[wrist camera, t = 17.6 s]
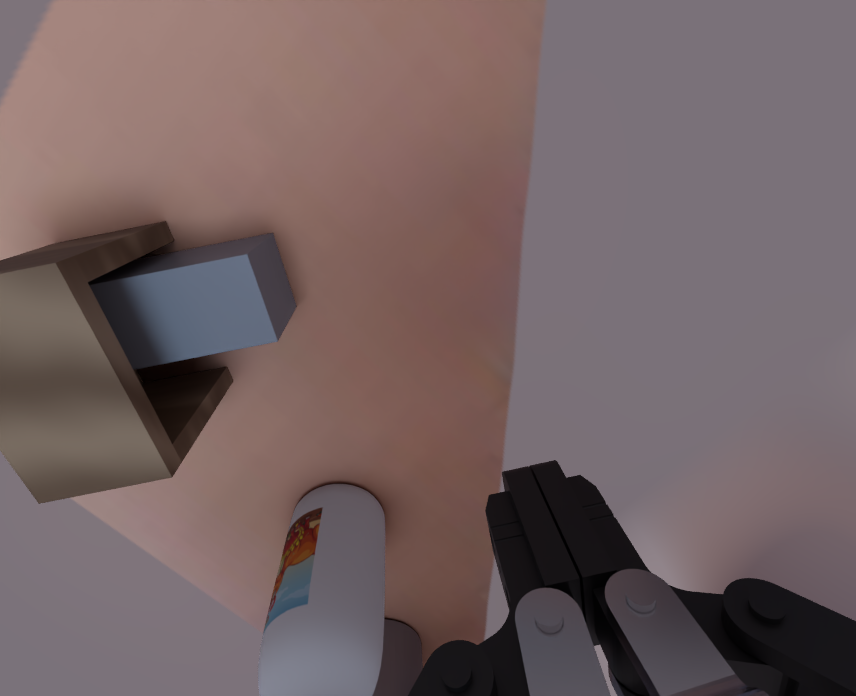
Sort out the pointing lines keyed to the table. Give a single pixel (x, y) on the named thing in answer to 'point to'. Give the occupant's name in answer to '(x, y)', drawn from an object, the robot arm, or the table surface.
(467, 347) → the table surface
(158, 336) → the pale blue brick
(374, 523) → the milk bottle
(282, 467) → the table surface
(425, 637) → the table surface
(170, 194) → the table surface
